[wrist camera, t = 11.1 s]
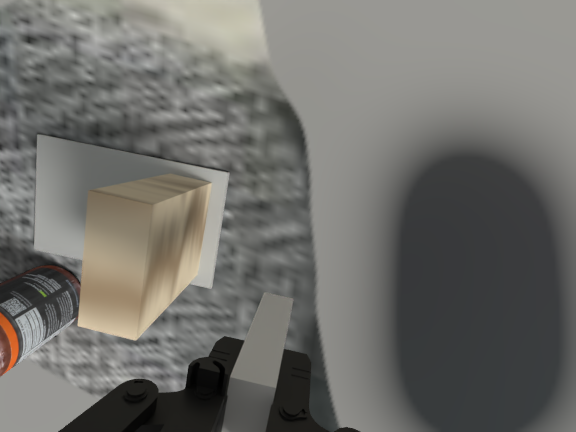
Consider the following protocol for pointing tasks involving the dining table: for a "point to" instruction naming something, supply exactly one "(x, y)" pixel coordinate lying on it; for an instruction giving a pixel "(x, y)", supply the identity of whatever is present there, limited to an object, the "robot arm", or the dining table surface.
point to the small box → (140, 250)
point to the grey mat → (101, 173)
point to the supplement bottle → (35, 311)
